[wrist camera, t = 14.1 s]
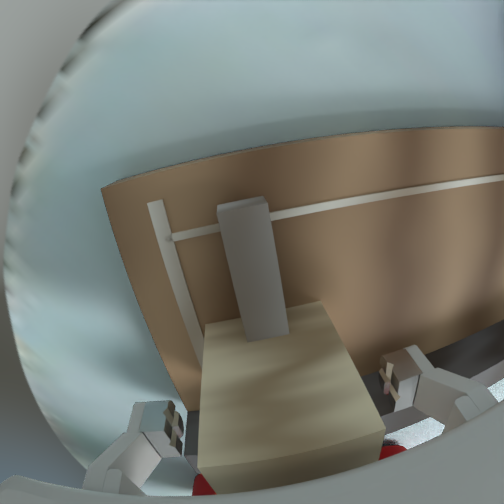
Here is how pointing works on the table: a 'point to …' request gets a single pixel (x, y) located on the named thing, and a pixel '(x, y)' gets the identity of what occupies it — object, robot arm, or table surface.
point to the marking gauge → (276, 377)
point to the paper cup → (202, 487)
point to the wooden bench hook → (332, 249)
